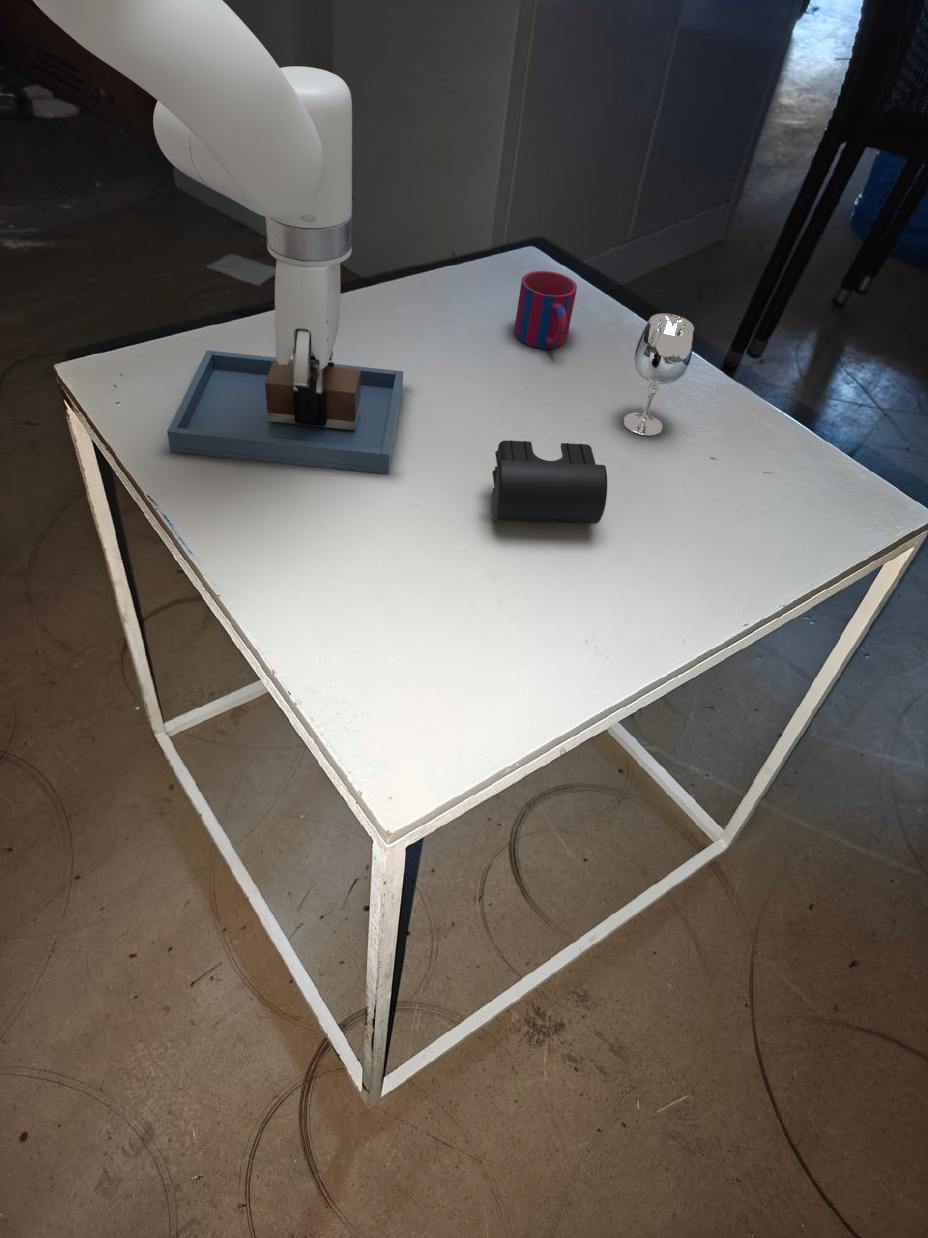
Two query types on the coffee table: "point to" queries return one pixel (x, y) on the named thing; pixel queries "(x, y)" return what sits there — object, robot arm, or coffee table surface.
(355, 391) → the eraser
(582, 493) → the end cap
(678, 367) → the wineglass
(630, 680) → the coffee table surface
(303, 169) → the robot arm
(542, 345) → the mug
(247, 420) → the tray
